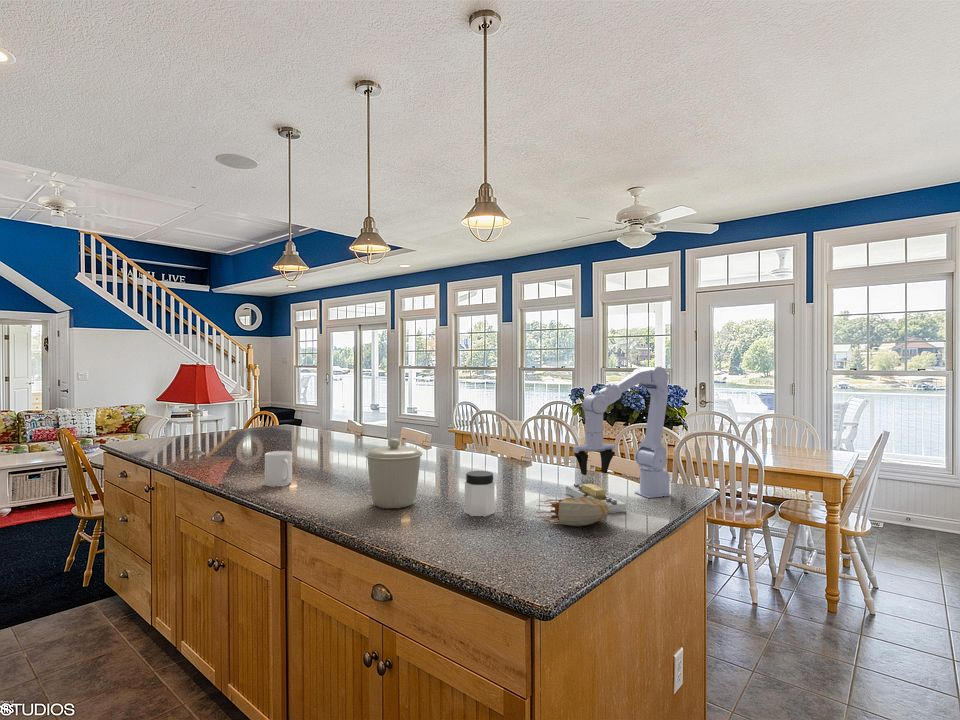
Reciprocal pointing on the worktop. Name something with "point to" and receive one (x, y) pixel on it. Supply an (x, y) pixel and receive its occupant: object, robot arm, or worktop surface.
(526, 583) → the worktop surface
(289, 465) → the mug
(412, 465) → the canister
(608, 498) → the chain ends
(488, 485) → the jar
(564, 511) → the nautilus
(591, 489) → the tan wooden block
